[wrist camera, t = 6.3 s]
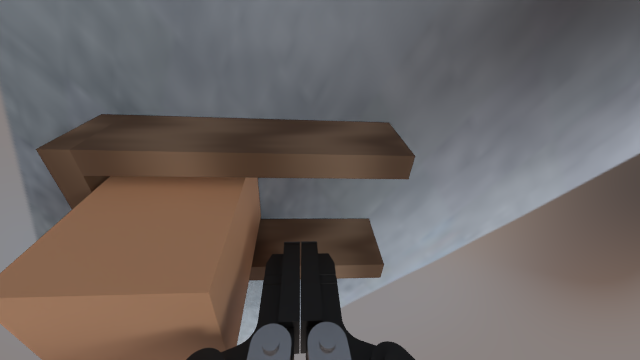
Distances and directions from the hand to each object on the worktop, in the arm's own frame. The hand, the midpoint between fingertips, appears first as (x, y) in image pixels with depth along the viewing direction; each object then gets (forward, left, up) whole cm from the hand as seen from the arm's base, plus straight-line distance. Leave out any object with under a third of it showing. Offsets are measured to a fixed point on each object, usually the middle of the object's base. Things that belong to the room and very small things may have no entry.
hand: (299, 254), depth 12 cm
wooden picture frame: (+2, 0, -6) cm, 6 cm away
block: (+6, 0, -5) cm, 8 cm away
